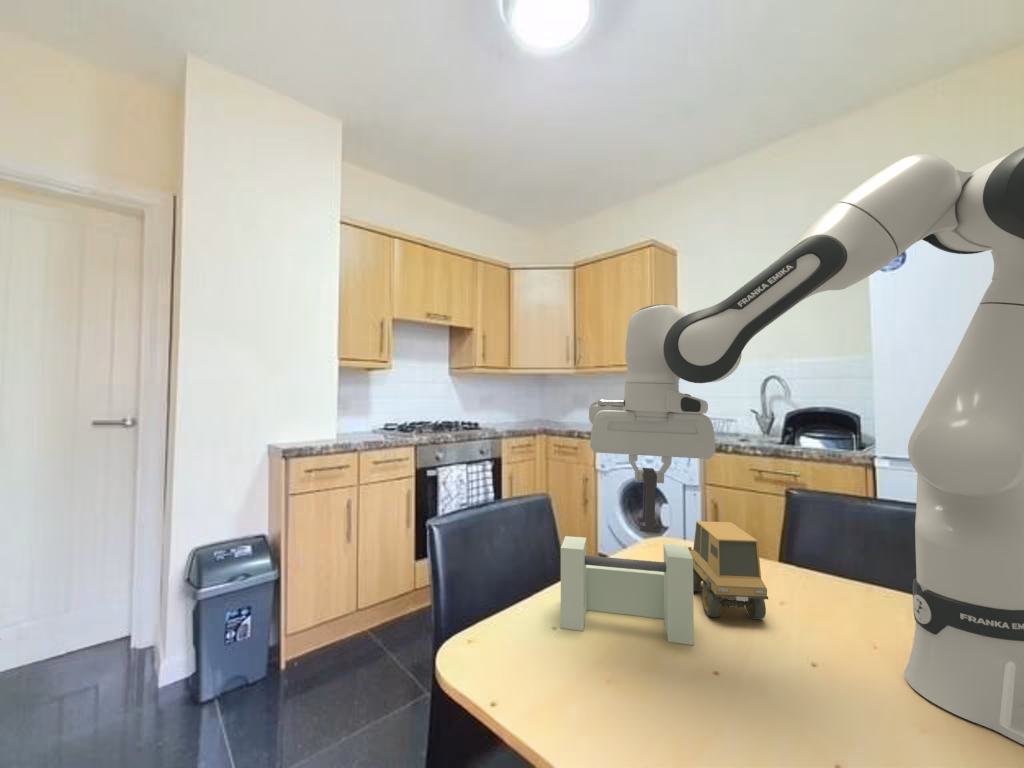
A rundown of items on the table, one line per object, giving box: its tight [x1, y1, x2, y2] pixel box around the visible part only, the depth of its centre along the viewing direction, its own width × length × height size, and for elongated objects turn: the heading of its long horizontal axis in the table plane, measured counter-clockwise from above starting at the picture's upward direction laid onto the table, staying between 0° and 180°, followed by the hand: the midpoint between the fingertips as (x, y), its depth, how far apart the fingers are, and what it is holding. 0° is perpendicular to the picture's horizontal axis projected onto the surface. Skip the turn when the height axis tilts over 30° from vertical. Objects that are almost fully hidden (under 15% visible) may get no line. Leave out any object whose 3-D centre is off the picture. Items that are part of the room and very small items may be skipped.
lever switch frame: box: [560, 535, 695, 646], centre depth 80 cm, size 22×10×14 cm, turn 76°
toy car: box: [687, 520, 769, 620], centre depth 88 cm, size 10×19×15 cm, turn 174°
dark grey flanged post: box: [637, 467, 661, 534], centre depth 75 cm, size 3×7×9 cm, turn 167°
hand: (649, 481), depth 75 cm, fingers closed on dark grey flanged post, 2 cm apart
